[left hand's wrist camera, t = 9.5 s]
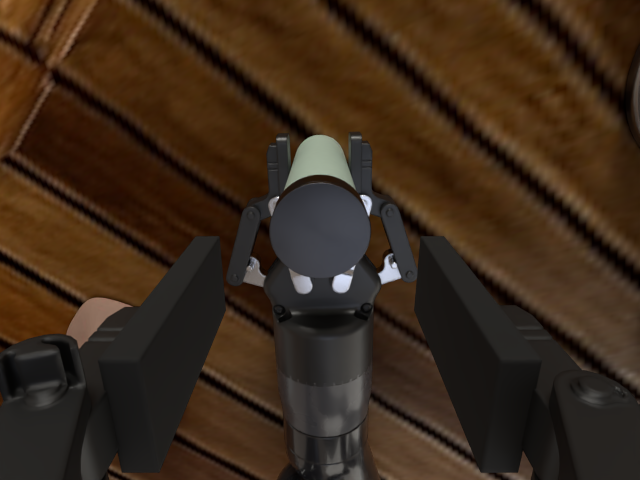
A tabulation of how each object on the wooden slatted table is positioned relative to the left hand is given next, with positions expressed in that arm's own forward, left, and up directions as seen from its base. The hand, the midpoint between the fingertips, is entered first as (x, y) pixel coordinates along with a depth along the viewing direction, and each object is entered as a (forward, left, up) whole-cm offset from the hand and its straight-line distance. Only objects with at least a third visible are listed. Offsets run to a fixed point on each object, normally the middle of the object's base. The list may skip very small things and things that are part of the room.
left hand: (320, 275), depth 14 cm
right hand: (+2, -2, -15) cm, 16 cm away
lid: (0, 0, -5) cm, 5 cm away
